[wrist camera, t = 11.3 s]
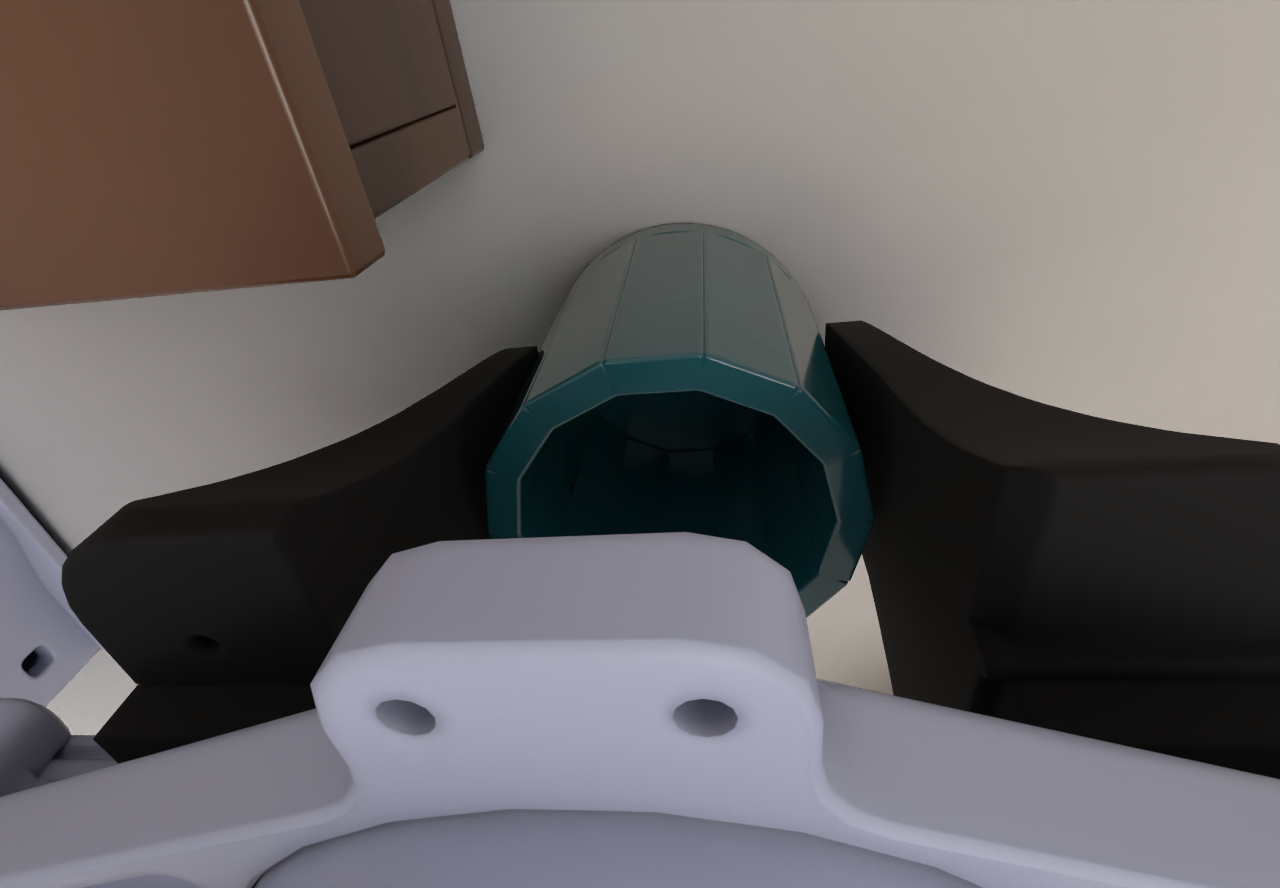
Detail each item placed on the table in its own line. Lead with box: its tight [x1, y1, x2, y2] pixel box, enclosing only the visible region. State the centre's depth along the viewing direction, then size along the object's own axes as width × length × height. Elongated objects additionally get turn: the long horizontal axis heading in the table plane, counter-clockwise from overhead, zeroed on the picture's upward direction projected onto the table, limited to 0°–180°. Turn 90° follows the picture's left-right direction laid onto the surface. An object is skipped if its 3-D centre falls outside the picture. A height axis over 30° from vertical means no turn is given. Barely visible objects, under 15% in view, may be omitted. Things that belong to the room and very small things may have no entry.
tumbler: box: [485, 223, 875, 618], centre depth 11 cm, size 5×5×6 cm
